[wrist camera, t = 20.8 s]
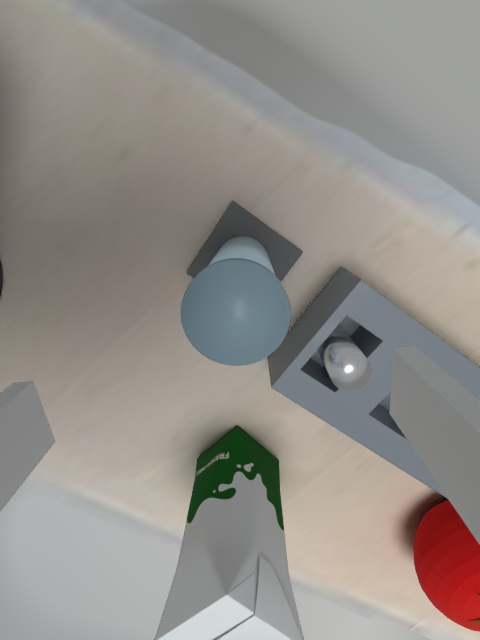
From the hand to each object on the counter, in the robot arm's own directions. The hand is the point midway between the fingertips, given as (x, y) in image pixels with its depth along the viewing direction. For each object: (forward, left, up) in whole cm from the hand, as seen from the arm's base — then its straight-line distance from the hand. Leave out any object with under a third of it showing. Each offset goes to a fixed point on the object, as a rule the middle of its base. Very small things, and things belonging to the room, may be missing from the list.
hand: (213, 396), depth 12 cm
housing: (+20, +1, -21) cm, 29 cm away
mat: (0, +2, -21) cm, 21 cm away
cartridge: (0, +2, -21) cm, 21 cm away
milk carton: (+13, -18, -22) cm, 31 cm away
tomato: (+41, -10, -22) cm, 47 cm away
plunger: (+11, +1, -19) cm, 22 cm away
